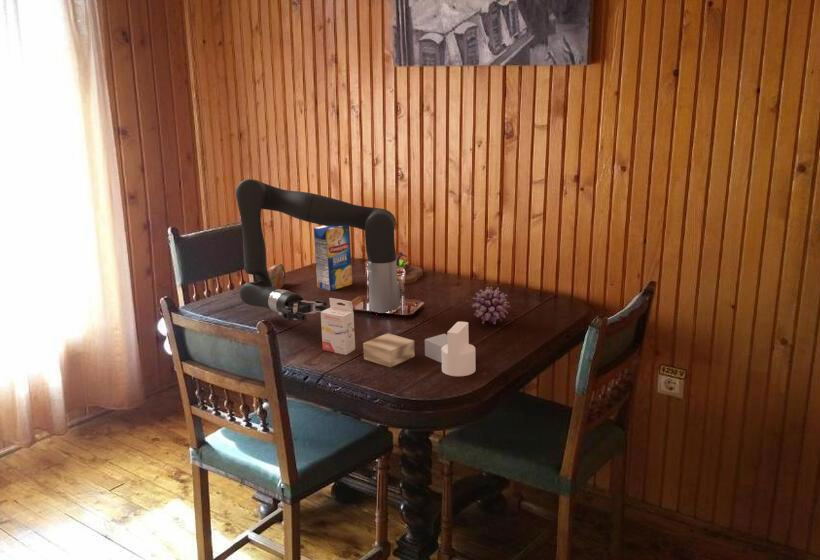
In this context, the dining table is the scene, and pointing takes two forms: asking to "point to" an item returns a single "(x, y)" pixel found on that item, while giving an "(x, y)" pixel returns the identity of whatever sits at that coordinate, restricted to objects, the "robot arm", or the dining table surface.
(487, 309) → the purple spiky ball
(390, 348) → the beech block
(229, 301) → the dining table surface
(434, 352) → the slate block
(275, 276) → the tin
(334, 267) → the beverage box
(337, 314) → the ink cartridge box
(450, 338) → the base with upright slab
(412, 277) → the plant
